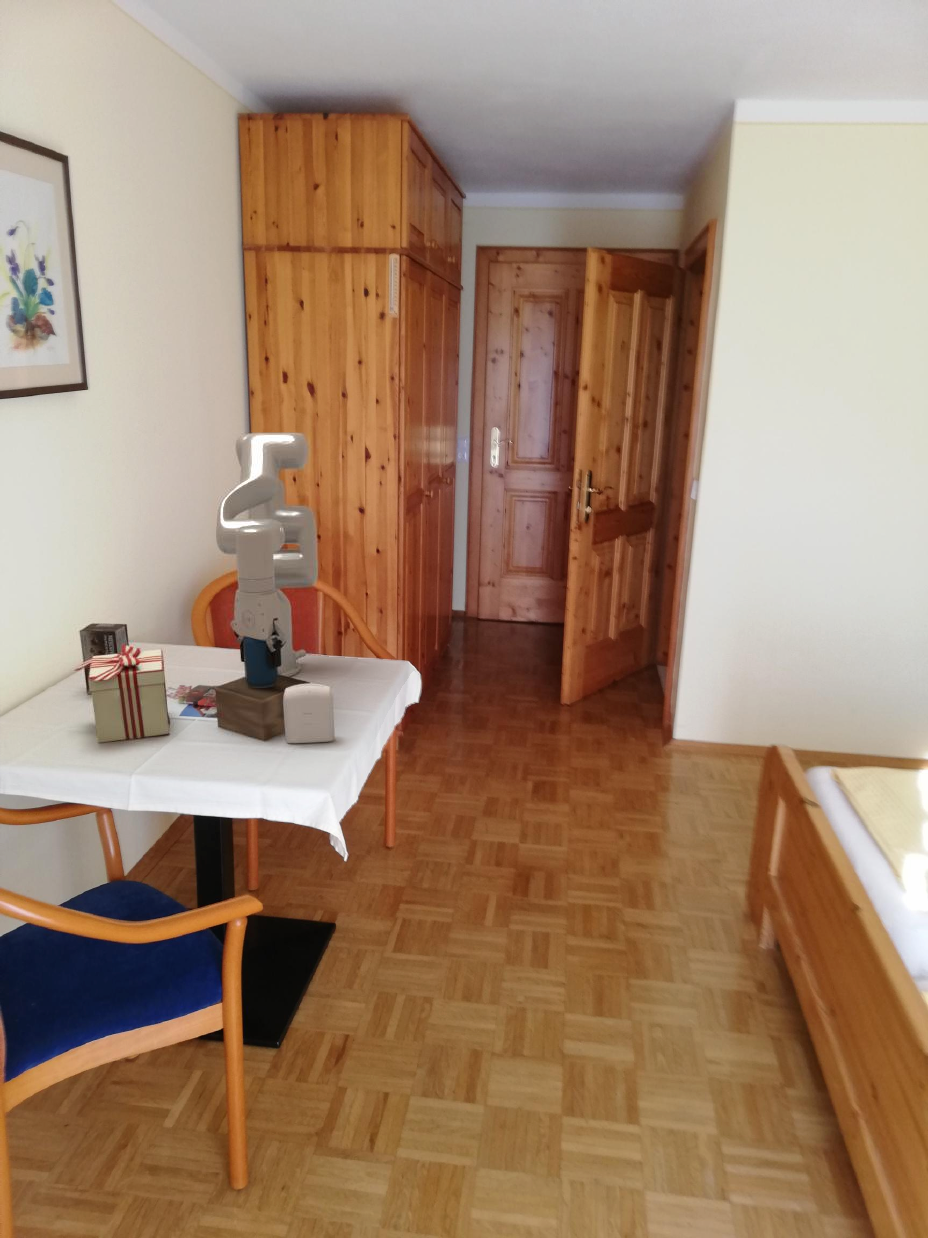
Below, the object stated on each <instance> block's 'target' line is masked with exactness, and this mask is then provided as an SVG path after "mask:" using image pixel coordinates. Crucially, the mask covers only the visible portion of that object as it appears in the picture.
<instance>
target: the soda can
mask: <svg viewBox="0 0 928 1238" xmlns="http://www.w3.org/2000/svg"><path fill="white" fill-rule="evenodd" d="M271 636H272V635H271ZM272 642H273V644H274V643H275V641H274V639H272ZM243 650H244V662H243V664H244V677H245V680H246V682H247V683H248V685H249V686H250V687H253V688H267V687H271V686H273V685H275V683H276V681H277V679H278V667H277V668H274V669H269V665H268V651H270V649H269V647H268V644H267V642H266V640H265V641H262V640H257V639H253V638H250V637H244V638H243Z"/></svg>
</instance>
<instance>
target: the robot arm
mask: <svg viewBox="0 0 928 1238" xmlns="http://www.w3.org/2000/svg"><path fill="white" fill-rule="evenodd" d="M235 452H236V456H237V460H238V464H239V466H240V478H239V479H240V480H239V483H238V484H237V485H236V486H234V487H233V488H232V489H231V490H230V491H229V492H228V493H226V495H225V496H224V498H222V500H221V502H220V504H219V507H218V509H217V519H216V527H215V540H216V545H217V547H218V549H219V551H220V552H222V553H223V554H226V555H236V568H237V569H236V570H237V578H236V581H237V584H238V589H236V591H235V596H234V597H235V598H234V608H233V610H234V611H233V612H234V613H233V619H232V620H231V621H230V622H229V623H230V627H231V628H232V631H233V634H234V636H235V637H236V638H237V640H236V641H237V643H238V644H239V649H240V650H239V654H240V662H242V663H244V650H243V638H244V637H250V638H253V639H257V640H262V641H265V640H266V642H267V644H268V647H269V649H270V651H268V665H269V669H274V668H277V667H278V674H280V675H284V676H288V677H293V676H295V675H296V674H298V673H299V672H300V671H301V667H300V666H301V665H300V664H299V663H298V662H297V660H299V659H301V658H305V657H306V654H307V652H306V650H305V649H300V650H297V651H295V650H294V649H293V625H292V606H291V602H290V599H289V598H288V597H287V596H286V595H285V594H284V592H283V591H282V590H281V589H284V588H285V589H287V588H289V589H290V588H291V589H292V588H310V587H312V586H314V585H315V584H316V583H317V581H318V576H319V558H318V536H317V535H318V534H317V533H318V532H317V520H316V516H315V513H314V511H313V510H312V508H310V507H309V506H306V505H287V504H286V492H285V491H286V490H285V485H284V483H283V482H282V480H281V479H280V478H279V475H280V474H279V473H280V472H279V471H280V470H302V469H304V468H305V467H306V465H308V464H307V463H308V461H309V456H310V448H309V442H308V439H307V437H306V435H305V434H303V433H301V432H251V433H246V434H245V433H244V434H242V435H240V436H238V437H237V438H236V441H235ZM248 510H250V518H239V519H238V518H236V517H237V516H239V515H240V514H241V513H244V512H246V511H248ZM284 545H297V546H298V547H299V548H297V549H296V548H292V549H291V548H288V549H282V547H283V546H284ZM271 635H272V636H271ZM272 639H274V641H275V643H274V644H273V642H272Z"/></svg>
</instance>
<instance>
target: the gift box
mask: <svg viewBox="0 0 928 1238" xmlns="http://www.w3.org/2000/svg"><path fill="white" fill-rule="evenodd" d="M164 664H165V661H164V653H163V650H162V648H161V649H149V650H141V648H138V647H134V646H130V645H129V646H127V645H123V646H122V653H118V654H110V655H100V656H92V659H89V660H87V661H86V662H84V663H83V662H82V664H80V666H78V667H77V668H76V669H74V670H73V671H75V672H77V671H80V670H82V669H84V667H86V666H88V665H90V670H89V677H88V682H89V690H90V692H92V695H91V698H92V707H93V713H94V721H95V722H94V723H95V728H96V730H95V731H96V736H97V743H98V744H101V743H102V744H103V743H110V742H119V741H124V740H126V741H127V740H134V739H135V740H136V739H142V738H148V737H149V738H150V737H156V736H157V737H158V736H164V735H166V736H167V735H170V728H169V726H170V725H171V720H170V716H169V710H168V709H169V708H168V697H167V688H166V674H165V665H164Z"/></svg>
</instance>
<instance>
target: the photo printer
mask: <svg viewBox="0 0 928 1238" xmlns="http://www.w3.org/2000/svg"><path fill="white" fill-rule="evenodd" d="M283 707H284V723H285V732H284V734H285V742H286V743H287V744H306V743H308V744H309V743H325V742H326V743H328V742H332V741H334V740H335V738H336V736H335V735H336V734H335V717H334V715H335V714H334V697H333V693H332V691H331V687H330V686H328V685H325V684H319V683H310V684H299V685H295V686H291V687H288V688H286V689H285V693H284V697H283Z"/></svg>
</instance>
